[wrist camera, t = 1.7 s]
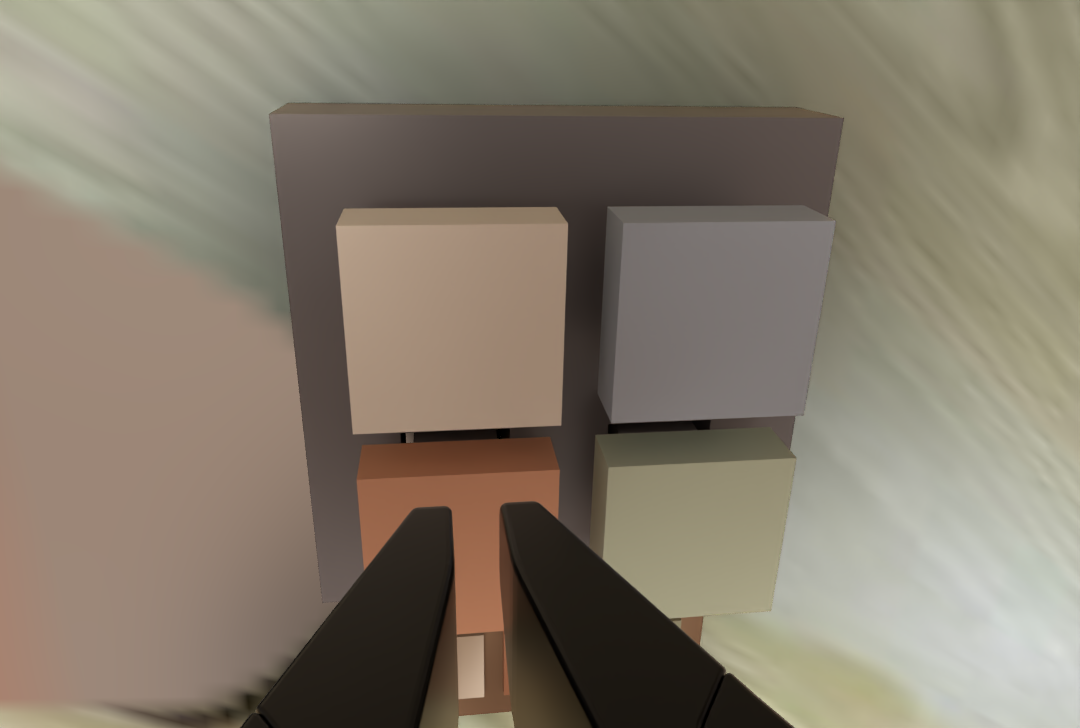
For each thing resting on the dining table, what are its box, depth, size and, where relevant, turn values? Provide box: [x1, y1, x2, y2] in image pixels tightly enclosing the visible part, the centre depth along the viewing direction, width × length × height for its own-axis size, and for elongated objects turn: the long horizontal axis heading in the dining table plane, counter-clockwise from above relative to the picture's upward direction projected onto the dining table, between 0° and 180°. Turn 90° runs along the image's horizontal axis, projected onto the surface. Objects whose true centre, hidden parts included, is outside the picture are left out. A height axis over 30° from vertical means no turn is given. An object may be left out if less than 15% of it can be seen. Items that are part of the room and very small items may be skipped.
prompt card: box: [457, 616, 703, 716], centre depth 24 cm, size 10×4×1 cm, turn 89°
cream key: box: [336, 207, 568, 434], centre depth 17 cm, size 4×4×4 cm
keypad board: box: [269, 103, 844, 603], centre depth 20 cm, size 12×12×2 cm
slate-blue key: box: [598, 205, 836, 423], centre depth 17 cm, size 4×4×4 cm
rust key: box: [357, 429, 560, 634], centre depth 18 cm, size 4×4×4 cm
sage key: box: [589, 421, 796, 619], centre depth 19 cm, size 4×4×4 cm
